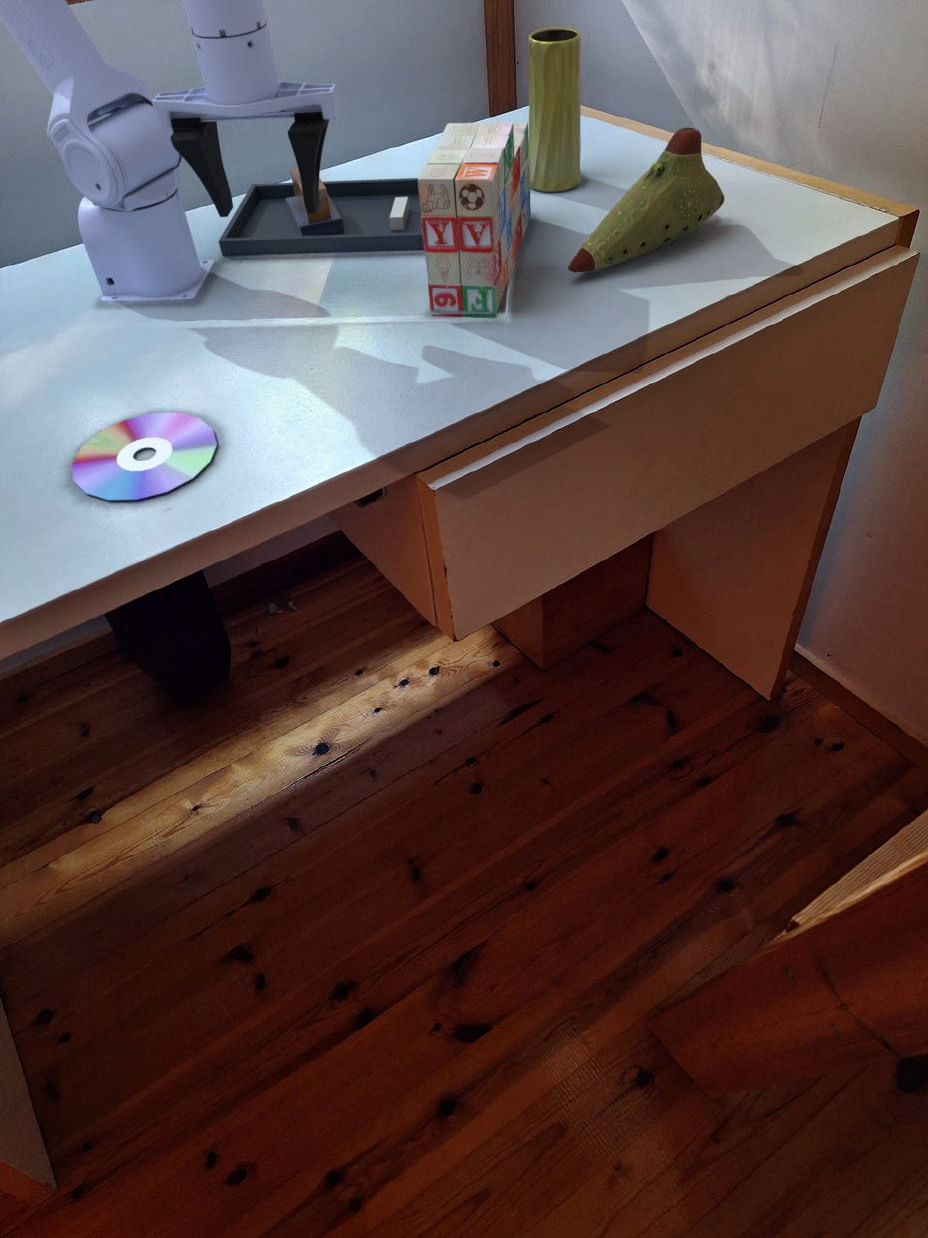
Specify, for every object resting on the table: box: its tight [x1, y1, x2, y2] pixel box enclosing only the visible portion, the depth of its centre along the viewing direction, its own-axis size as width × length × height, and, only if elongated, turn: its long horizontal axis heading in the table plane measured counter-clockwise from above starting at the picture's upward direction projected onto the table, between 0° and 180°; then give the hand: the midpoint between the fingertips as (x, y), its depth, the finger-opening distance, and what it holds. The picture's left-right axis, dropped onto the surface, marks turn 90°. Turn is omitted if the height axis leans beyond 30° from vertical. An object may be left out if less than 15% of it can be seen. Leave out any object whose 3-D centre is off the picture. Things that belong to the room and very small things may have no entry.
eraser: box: [285, 166, 344, 236], centre depth 95 cm, size 8×4×4 cm, turn 19°
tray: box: [218, 177, 425, 257], centre depth 96 cm, size 21×14×2 cm
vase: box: [528, 26, 583, 193], centre depth 96 cm, size 6×6×14 cm
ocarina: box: [567, 126, 725, 274], centre depth 84 cm, size 20×5×10 cm, turn 126°
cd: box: [71, 412, 218, 501], centre depth 70 cm, size 11×11×1 cm
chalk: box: [390, 197, 410, 231], centre depth 95 cm, size 1×5×1 cm, turn 176°
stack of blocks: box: [417, 121, 532, 319], centre depth 84 cm, size 21×6×12 cm, turn 169°
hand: (269, 210), depth 77 cm, fingers open, 7 cm apart
